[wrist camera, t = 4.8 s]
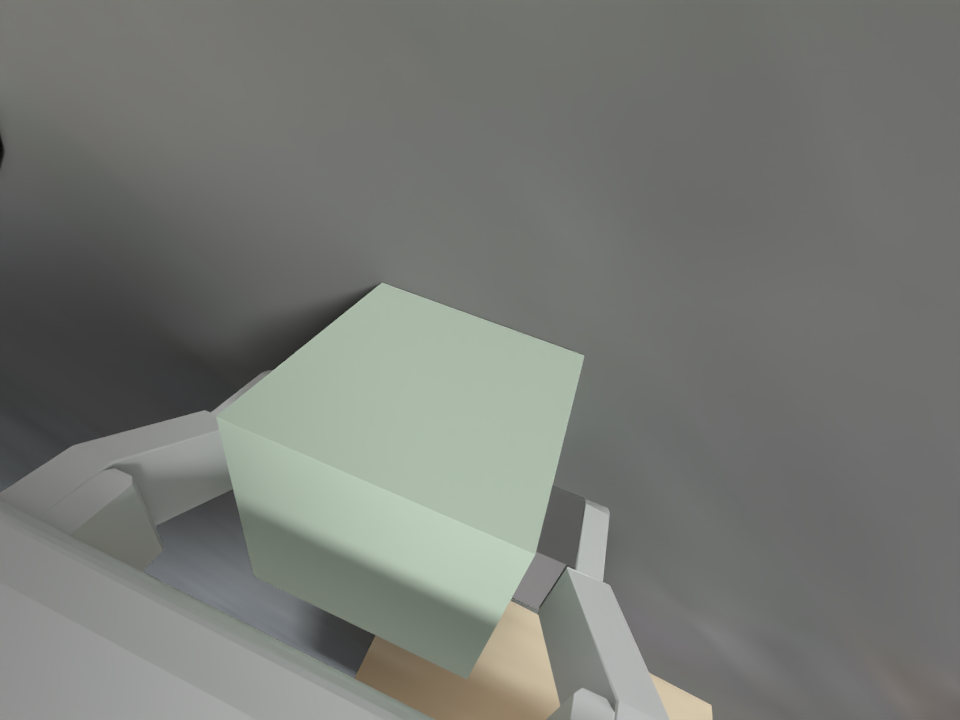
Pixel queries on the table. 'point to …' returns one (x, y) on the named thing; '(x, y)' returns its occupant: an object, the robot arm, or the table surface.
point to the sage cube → (403, 469)
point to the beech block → (493, 678)
